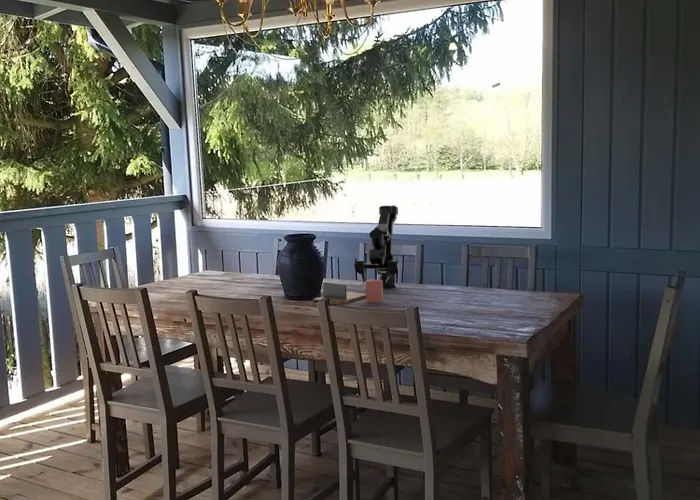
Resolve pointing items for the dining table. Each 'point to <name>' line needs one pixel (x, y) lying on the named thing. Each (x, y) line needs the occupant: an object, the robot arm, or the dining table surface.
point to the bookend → (334, 290)
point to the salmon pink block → (374, 291)
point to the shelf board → (350, 298)
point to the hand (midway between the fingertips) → (374, 282)
